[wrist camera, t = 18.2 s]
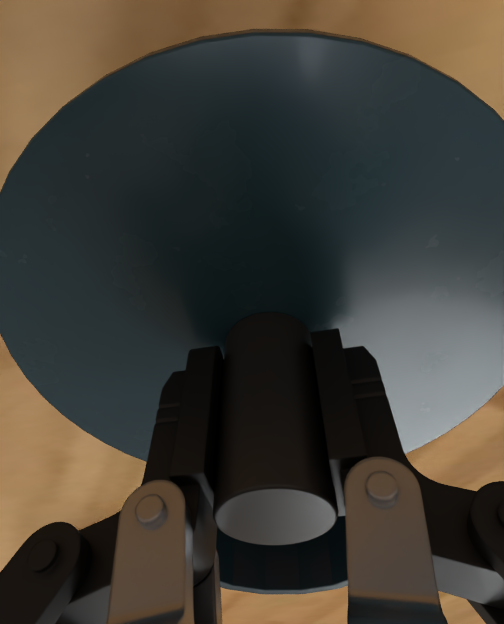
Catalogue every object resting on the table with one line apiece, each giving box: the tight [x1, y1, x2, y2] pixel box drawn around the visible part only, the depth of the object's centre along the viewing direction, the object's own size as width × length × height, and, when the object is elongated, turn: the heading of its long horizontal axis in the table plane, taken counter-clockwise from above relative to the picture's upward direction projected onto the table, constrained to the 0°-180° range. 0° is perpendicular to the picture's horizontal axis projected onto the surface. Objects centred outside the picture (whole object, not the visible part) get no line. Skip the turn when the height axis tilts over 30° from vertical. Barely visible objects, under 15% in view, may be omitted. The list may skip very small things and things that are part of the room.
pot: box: [216, 516, 348, 594], centre depth 30 cm, size 14×19×10 cm
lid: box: [0, 29, 504, 545], centre depth 11 cm, size 15×15×6 cm
